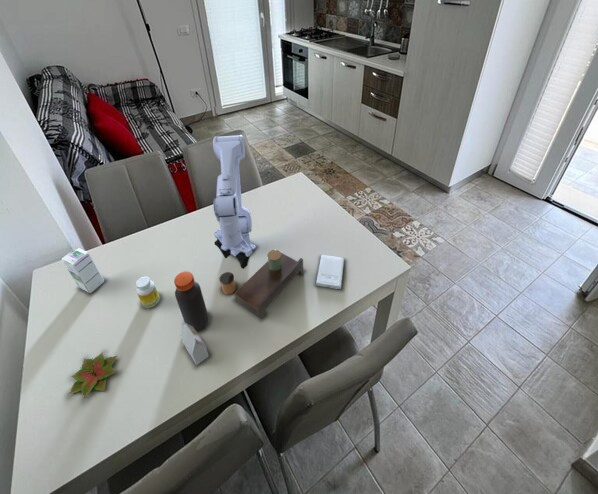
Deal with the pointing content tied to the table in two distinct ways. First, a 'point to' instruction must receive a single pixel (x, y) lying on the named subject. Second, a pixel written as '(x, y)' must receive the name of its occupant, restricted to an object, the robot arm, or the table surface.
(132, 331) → the table surface
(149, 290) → the supplement bottle
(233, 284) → the ochre jar
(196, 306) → the vinegar
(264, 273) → the spice shelf
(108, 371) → the red green leafy plant
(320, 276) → the hard drive
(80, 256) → the syrup box
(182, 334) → the white gable top packet
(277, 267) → the sage jar
